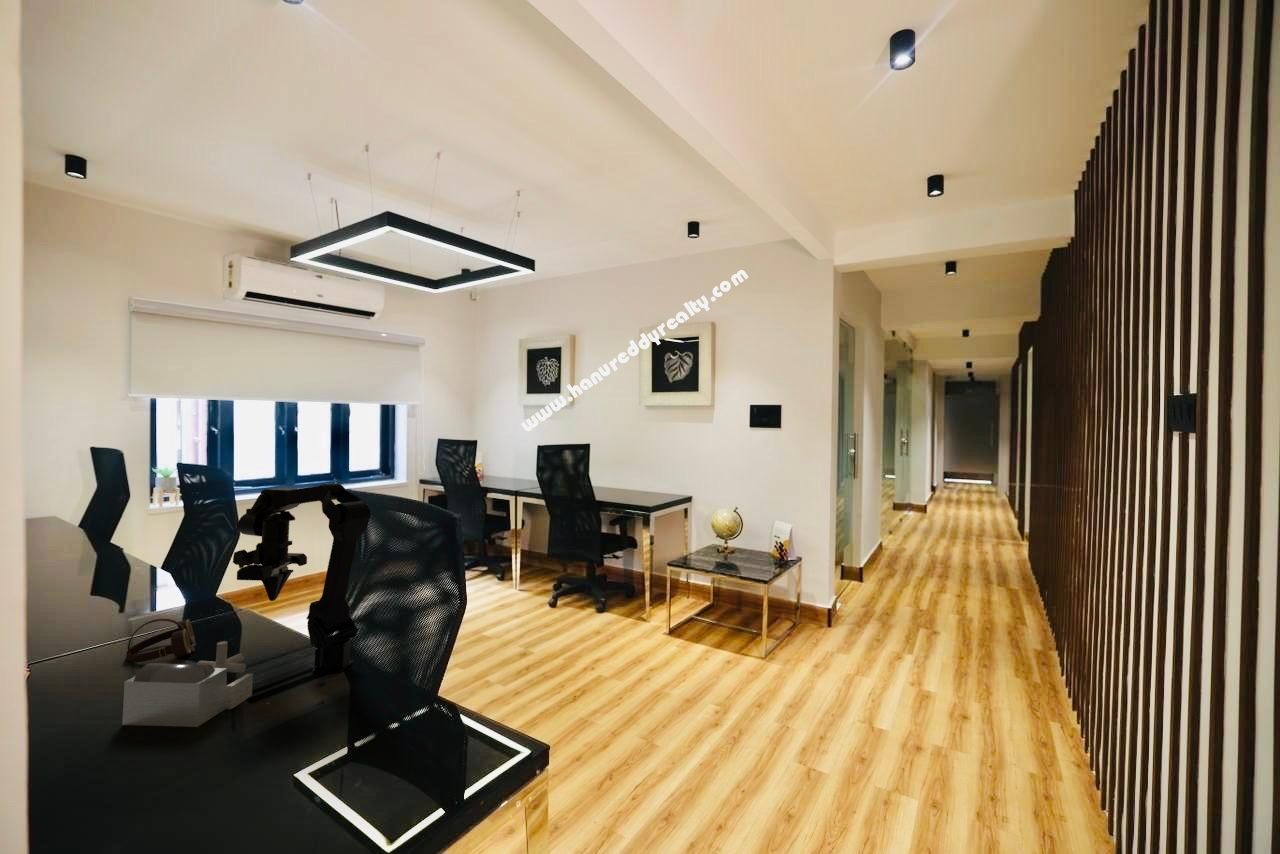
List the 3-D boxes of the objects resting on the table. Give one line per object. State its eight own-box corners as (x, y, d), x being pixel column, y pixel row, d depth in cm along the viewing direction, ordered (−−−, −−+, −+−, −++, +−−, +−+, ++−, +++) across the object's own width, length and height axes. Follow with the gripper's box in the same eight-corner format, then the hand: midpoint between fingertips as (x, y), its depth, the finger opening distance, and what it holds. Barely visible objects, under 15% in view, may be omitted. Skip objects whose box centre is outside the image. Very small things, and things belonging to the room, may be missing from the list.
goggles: (194, 657, 136) (184, 618, 135) (123, 681, 129) (112, 640, 128) (199, 638, 149) (190, 602, 148) (135, 659, 142) (125, 621, 141)
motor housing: (252, 695, 118) (254, 647, 118) (204, 726, 105) (206, 672, 105) (172, 693, 118) (174, 645, 118) (114, 724, 105) (117, 670, 105)
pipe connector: (259, 682, 124) (261, 636, 124) (221, 702, 114) (224, 652, 114) (217, 679, 125) (220, 633, 125) (176, 699, 115) (179, 649, 115)
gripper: (267, 531, 151) (265, 589, 150) (215, 544, 132) (212, 610, 132) (309, 532, 151) (306, 591, 150) (262, 545, 132) (259, 612, 132)
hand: (272, 600), depth 141 cm, fingers closed
